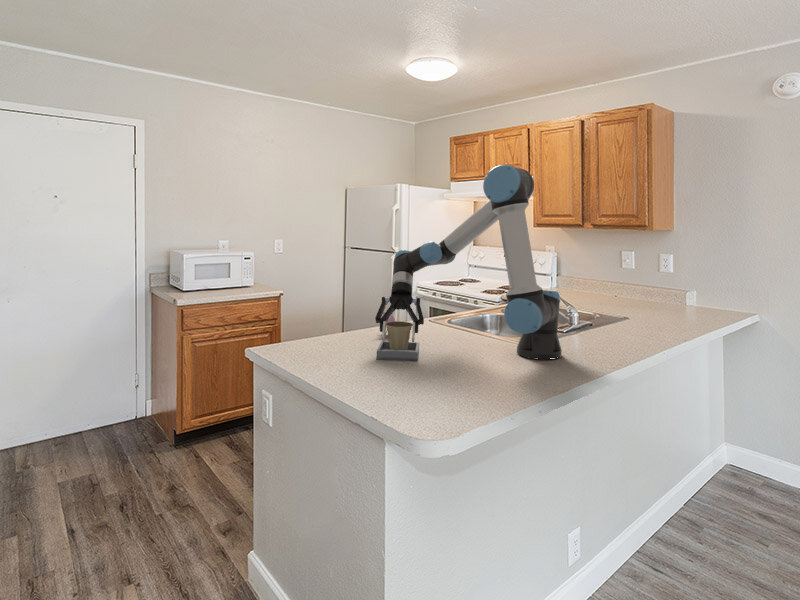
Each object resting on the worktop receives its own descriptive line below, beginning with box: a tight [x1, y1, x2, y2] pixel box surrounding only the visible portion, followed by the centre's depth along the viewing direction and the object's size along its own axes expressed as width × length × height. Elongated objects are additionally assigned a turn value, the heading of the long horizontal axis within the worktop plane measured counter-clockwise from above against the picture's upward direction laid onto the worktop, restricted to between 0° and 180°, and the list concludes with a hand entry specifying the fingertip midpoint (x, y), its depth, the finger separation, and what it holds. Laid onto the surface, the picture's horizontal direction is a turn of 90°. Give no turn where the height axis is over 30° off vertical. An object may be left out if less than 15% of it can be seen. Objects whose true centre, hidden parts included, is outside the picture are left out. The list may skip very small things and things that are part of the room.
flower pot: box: [385, 320, 413, 351], centre depth 172 cm, size 9×9×9 cm
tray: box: [376, 340, 420, 362], centre depth 173 cm, size 14×14×3 cm
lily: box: [382, 311, 396, 336], centre depth 202 cm, size 12×12×10 cm
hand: (398, 339), depth 169 cm, fingers closed on flower pot, 9 cm apart
